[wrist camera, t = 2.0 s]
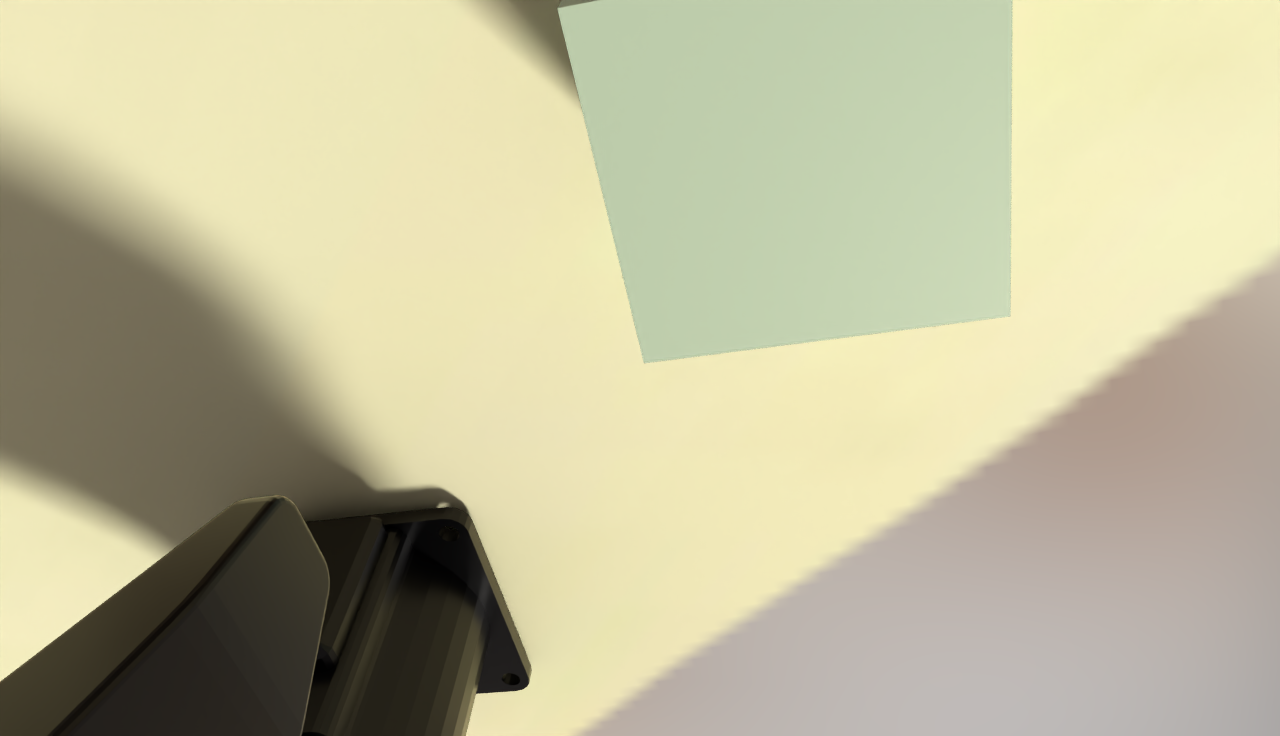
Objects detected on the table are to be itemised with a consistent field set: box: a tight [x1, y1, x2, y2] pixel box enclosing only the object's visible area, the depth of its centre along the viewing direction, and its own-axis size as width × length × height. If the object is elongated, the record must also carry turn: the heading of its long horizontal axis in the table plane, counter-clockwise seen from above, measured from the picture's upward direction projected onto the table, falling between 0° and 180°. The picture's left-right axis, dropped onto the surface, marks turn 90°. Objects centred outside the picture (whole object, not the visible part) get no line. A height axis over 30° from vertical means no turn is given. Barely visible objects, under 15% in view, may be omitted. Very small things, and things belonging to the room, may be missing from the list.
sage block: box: [557, 0, 1012, 363], centre depth 15 cm, size 5×5×6 cm
